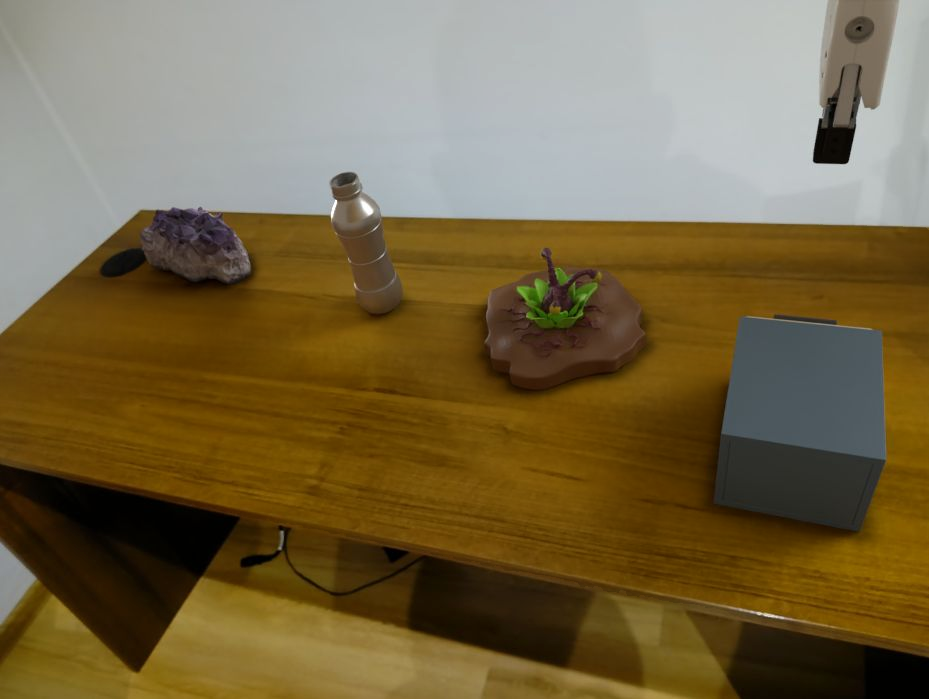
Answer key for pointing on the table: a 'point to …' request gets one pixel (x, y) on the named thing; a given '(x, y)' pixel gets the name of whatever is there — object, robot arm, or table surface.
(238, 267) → the geode
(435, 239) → the table surface
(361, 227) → the plastic bottle
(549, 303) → the plant
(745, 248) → the table surface
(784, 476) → the cabinet
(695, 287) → the table surface
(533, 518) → the table surface
